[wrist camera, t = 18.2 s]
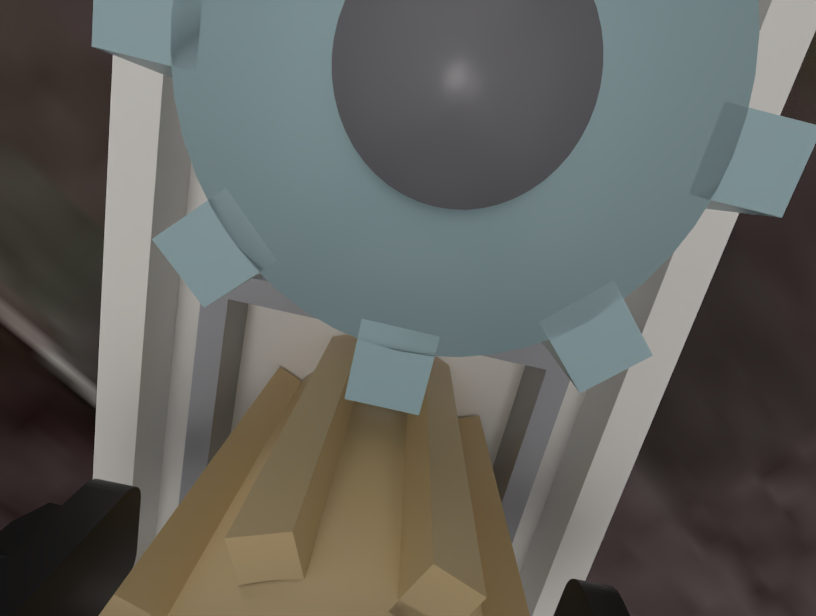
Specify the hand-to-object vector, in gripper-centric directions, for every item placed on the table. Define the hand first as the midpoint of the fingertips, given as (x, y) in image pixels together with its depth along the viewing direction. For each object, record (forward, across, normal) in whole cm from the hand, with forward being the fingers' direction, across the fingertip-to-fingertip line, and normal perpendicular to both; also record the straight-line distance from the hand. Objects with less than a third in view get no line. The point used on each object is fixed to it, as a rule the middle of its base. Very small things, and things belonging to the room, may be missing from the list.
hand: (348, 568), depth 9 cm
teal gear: (+4, 0, -8) cm, 9 cm away
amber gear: (+4, 0, 0) cm, 5 cm away
